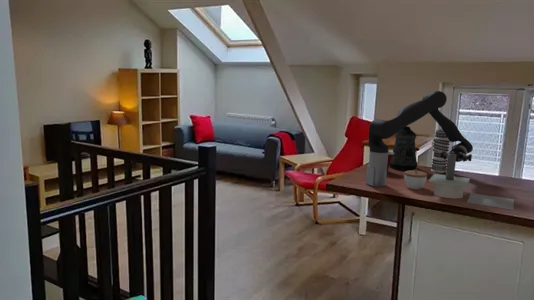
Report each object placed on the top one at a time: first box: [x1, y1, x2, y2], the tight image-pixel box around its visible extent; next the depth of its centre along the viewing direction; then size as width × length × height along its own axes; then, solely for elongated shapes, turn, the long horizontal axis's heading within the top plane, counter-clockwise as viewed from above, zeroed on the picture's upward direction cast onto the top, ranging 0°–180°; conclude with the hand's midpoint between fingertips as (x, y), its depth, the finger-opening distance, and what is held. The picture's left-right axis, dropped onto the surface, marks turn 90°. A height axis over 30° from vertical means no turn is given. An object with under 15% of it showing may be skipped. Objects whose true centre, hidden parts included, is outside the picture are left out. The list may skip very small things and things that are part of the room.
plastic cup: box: [387, 150, 394, 173], centre depth 247 cm, size 11×11×12 cm
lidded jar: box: [404, 168, 428, 190], centre depth 213 cm, size 11×11×9 cm
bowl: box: [433, 183, 465, 199], centre depth 201 cm, size 12×12×7 cm
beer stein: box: [389, 126, 419, 171], centre depth 258 cm, size 16×19×25 cm
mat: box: [466, 192, 515, 211], centre depth 192 cm, size 18×18×1 cm
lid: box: [428, 154, 471, 188], centre depth 199 cm, size 16×16×13 cm
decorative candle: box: [430, 128, 451, 174], centre depth 250 cm, size 9×9×25 cm
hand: (454, 158), depth 208 cm, fingers open, 8 cm apart
